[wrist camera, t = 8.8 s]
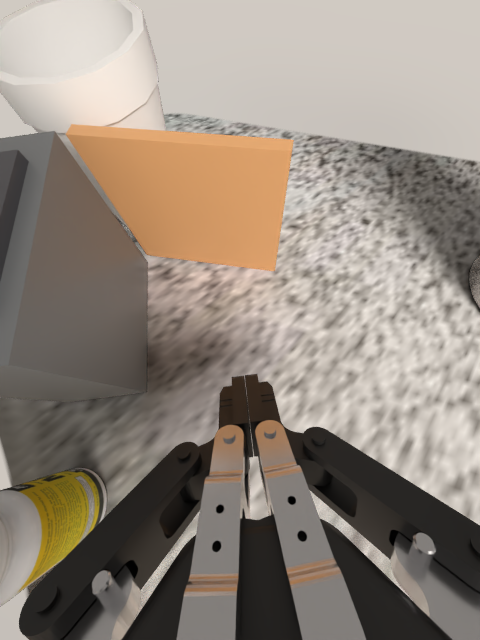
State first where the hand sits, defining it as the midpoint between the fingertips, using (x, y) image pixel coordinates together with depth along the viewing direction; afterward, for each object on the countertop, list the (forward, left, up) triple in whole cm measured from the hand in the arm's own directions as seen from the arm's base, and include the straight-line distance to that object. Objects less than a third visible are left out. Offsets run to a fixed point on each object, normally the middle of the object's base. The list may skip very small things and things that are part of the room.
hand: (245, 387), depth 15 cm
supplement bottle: (+13, +6, -5) cm, 15 cm away
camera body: (+11, -7, -5) cm, 14 cm away
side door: (+2, -12, -4) cm, 13 cm away
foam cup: (+8, -20, -5) cm, 22 cm away
